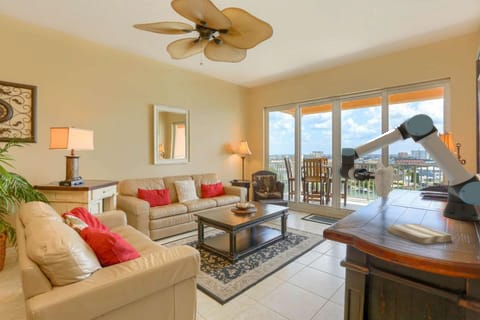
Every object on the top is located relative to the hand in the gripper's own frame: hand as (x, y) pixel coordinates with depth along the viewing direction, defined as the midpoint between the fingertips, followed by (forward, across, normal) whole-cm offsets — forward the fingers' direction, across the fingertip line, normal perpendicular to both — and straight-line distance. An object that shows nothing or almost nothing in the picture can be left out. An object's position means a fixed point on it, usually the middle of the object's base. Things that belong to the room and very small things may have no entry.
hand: (390, 178), depth 120 cm
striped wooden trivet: (+15, 0, -24) cm, 28 cm away
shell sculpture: (-4, 0, -10) cm, 11 cm away
